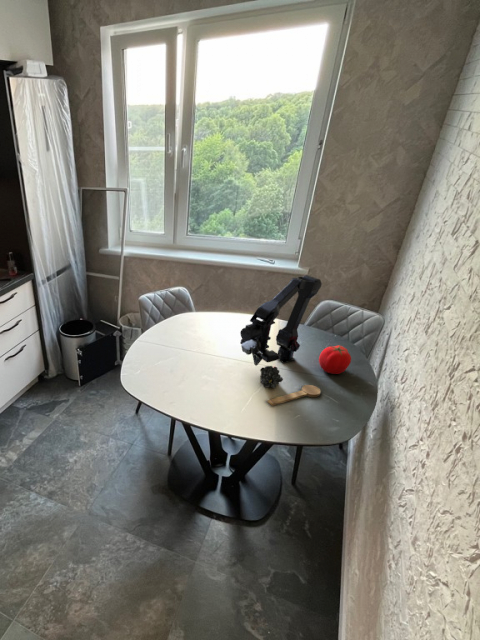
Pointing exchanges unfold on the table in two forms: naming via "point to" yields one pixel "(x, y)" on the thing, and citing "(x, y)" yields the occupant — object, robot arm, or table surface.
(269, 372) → the fruit
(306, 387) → the spoon
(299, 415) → the table surface
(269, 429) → the table surface
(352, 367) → the table surface
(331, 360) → the tomato
